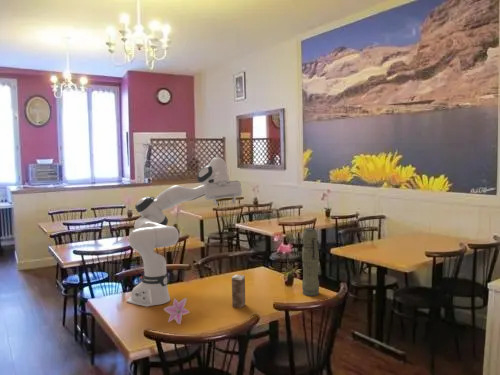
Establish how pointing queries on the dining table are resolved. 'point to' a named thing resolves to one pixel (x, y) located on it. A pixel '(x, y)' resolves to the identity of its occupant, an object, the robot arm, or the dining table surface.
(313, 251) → the thermos
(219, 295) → the dining table surface
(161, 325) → the dining table surface
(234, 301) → the grey rectangular block
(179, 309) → the lily
